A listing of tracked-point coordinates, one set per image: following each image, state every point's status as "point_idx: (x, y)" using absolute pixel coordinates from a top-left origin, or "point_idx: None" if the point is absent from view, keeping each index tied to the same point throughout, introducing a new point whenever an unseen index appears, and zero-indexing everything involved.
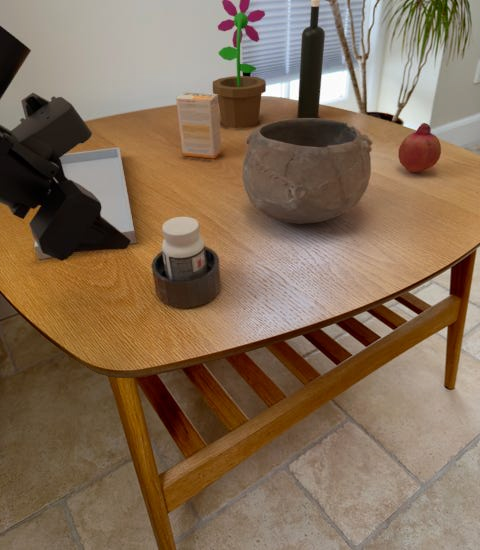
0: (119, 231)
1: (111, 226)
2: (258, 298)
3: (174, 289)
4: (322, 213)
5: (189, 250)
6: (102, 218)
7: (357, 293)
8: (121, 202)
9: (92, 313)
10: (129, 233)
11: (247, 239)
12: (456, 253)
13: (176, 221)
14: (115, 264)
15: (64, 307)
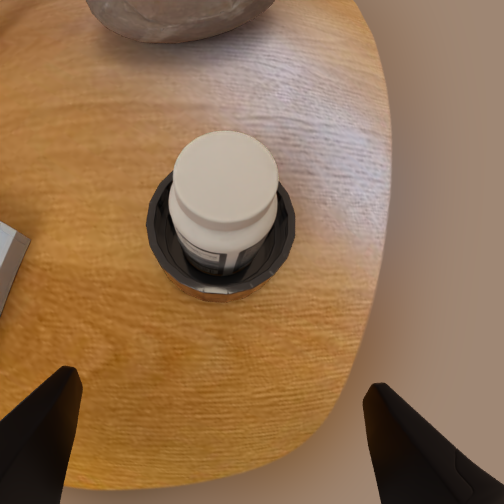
0: (419, 421)
1: (461, 453)
2: (316, 172)
3: (266, 281)
4: (266, 8)
5: (273, 205)
6: (488, 485)
7: (371, 93)
8: None
9: (167, 416)
10: (15, 242)
11: (172, 92)
12: (358, 12)
13: (199, 168)
14: (58, 309)
15: (121, 442)
